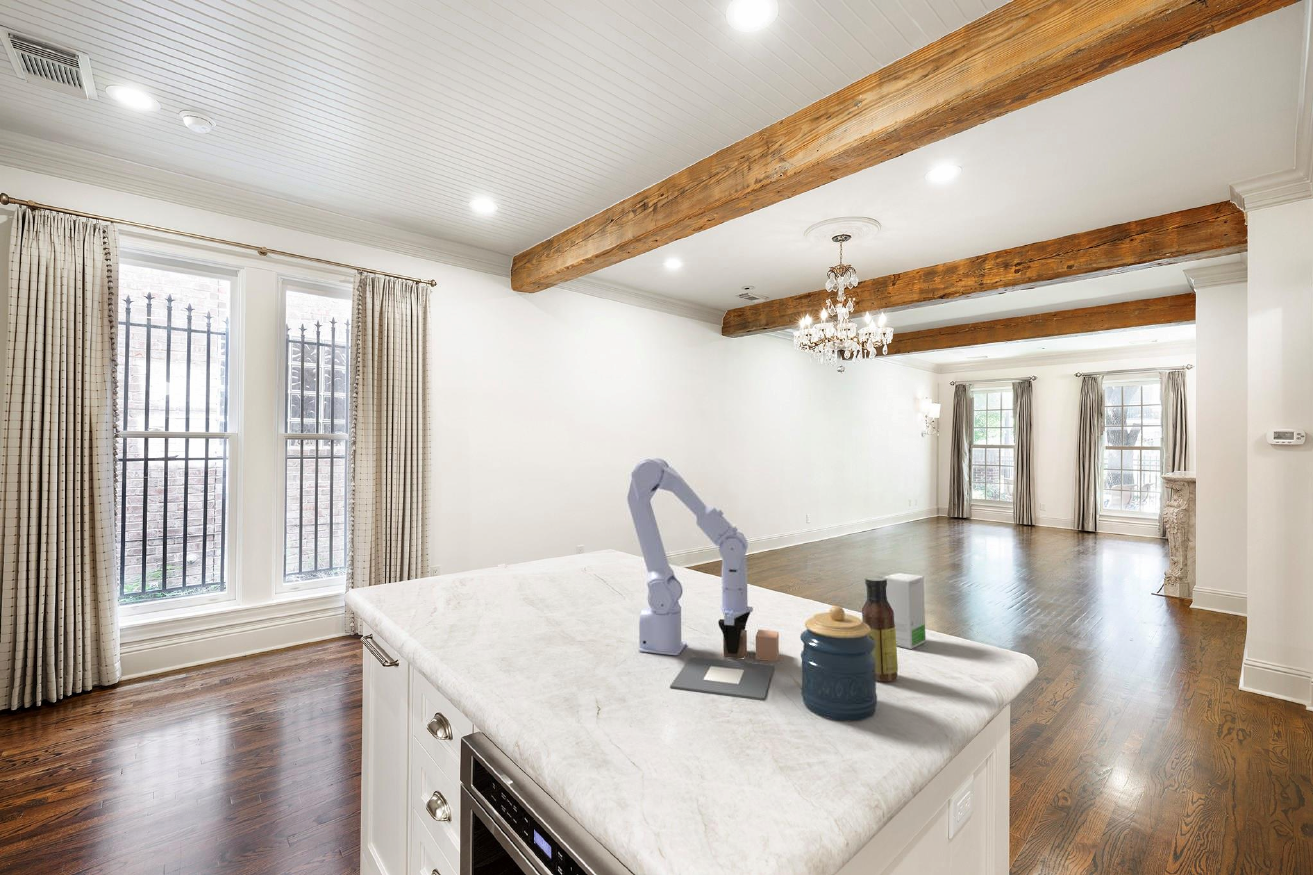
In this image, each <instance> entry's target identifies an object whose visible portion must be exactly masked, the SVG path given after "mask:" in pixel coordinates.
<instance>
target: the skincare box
mask: <svg viewBox="0 0 1313 875" xmlns="http://www.w3.org/2000/svg"><path fill="white" fill-rule="evenodd" d="M884 578H886V580H887V586H886V596H887V601H888V603H889V604H890V606H891V608H892V610H893V611H894V624H895V631H896V646H897V647H898V648H899V647H900V648H904V649H909V650H913V649H914V648H917V647H919V646H921V645H922V644H924V643H926V641H927V640H926V616H925V613H926V612H925V611H926V610H925V586H924V585H925V583H924V582H925V581H924V576H922V575H916V574H910V573H909V574H907V573H902V572H901V573H900V572H898V573H892V574H889V575H886V576H884Z"/></svg>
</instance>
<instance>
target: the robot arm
mask: <svg viewBox="0 0 1313 875" xmlns="http://www.w3.org/2000/svg"><path fill="white" fill-rule="evenodd" d="M630 477H631V480H630V485H629V488H628V492H627V498H626V499H627V504H628V508H629V510H630V514H631V518H632V521H633V524H634V529H635V532H636V534H637V539H638V542H639V545H640V549H641V552H642V556H643V560H644V563H645V566H646V571H647V579H646V584H647V585H646V586H647V589H648V593H647V602H648V606H649V608H648V607H647V608H646V607H644V608H643V609H642V610H641V612H640V616H639V623H638V624H639V626H638V628H639V629H638V630H639V631H638V632H639V636H638V637H639V648H638V652H642V653H643V652H644V653H652V654H662V655H671V656H679V655H680V653H681V652H682V651H683V649H684V648H685V647H686V646H687V641H683V640H682V607H681V605H680V602H679V600H680V599H681V598H682V596H683V585H682V583H681V582H680V580H679V579H678V578H677V576H676V575H675V573H674V569H672V566H671V565H670V564H669V560H668V559H667V558H668V557H667V554H666V550H665V548H664V544H663V541H662V537H661V534H660V533H661V532H660V530H659V526H658V523H657V520H656V516H655V513H654V510H653V507H652V503H651V500H652V498H653V497H654V496H655V494H656V492H657V491H658V489H659V490H664V491H668V492H671V493H673V494H674V496H676V498H678V500H680V501H681V503H683V505H684V506H686V508H687V509H688V510H690V512H692V514H694V515H695V517H696V526H697V527H698V528H699V529H700V530H701V531H702V532H703V534H705V535H706V536H707V538H709V540H710V541H711V542H712V543H713V544H714V545H715V546H717V547H719V548H718V551H719V555H720V556H721V558H722V560H721V562H722V564H721V606H720V610H721V612H722V614H723V619H722V618H720V619H718V622H717V623H718V627H719V629H720V630H721V632H722V635H724V639H725V643H726V648H727V651H728V653H732V654H737V653H738V649H739V642H740V636H741V632H742V630H746V627H747V622H748V619H749V616H750V615H751V613H752V612H753V611H754V607H753V606H748V567H747V561H748V560H747V555H746V554H747V549H748V544H749V543H748V540H747V538H746V537H745V535H744V533H742V532H740V531H738V528H737V526H733V525H732V524H731V523H730V522H729V521H728V520H727V519H726V517H724V516H723V515H724V514H725V513H724V511H722V509H719V510H718V509H717V508H716V507H712V506H707V505H706V503H704V502H703V501H702V499H701V498H700V497H699V496H698V495H697V494H696V492H695V491H694V490H693V489H692V488H691V487H690V486H689V484H688V483H687V482H686V481H685V479H684V478H683V477H682V476H681V475H680V474H679V473H678V472H677V470H675V469H674V468H673V467H672V466H669V464H668V463H667V461H666V460H664V459H662V458H658V457H657V458H653V459H650V458H646V459H642V460H641V461H639V462H638V464H636V466H635V467H634V469H633V470H632V472H631V476H630Z"/></svg>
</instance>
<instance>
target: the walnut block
mask: <svg viewBox="0 0 1313 875" xmlns="http://www.w3.org/2000/svg"><path fill="white" fill-rule="evenodd" d="M747 632H748V631H747V630H746V629H745V630H742V632H741V636H740V642H739V649H738V653H737V654H732V653H728V651H727V648H726V643H725V639H724V635H723V634H722V635H723V636H722V637H723V639H722V640H723V641H722V642H723V643H722V644H723V653H722V654H723V658H727V659H728V658H729V659H737V658H744V657H746V655H747V653H748V633H747ZM744 659H745V658H744Z"/></svg>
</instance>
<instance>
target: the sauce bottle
mask: <svg viewBox="0 0 1313 875" xmlns="http://www.w3.org/2000/svg"><path fill="white" fill-rule="evenodd" d="M884 577H885V576H884ZM884 577H883V576H878V575H870V576H866V577H865V578H864V583H865V586H866V601H865V603H864V605H863V606H862V608H861V615H862V616H861V617H862V619H861V620H862V622H864V623H866V624H867V625H869V627H870V628H871V632H870V633H869V635H870V636H871V637H872V638H873V639H874V640H875V641H876V647H875V648H874V649H873V656H874V658H875V659H876V682H881V683H893V682H895V681H896V680H897V679H898V671H899V668H898V666H899V663H898V650H897V649H898V648H897V647H898V646H896V631H895V624H894V611H893V610H892V608H891V606H890V604H889V603H888V601H887V596H886V586H887V580H886V578H884Z"/></svg>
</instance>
